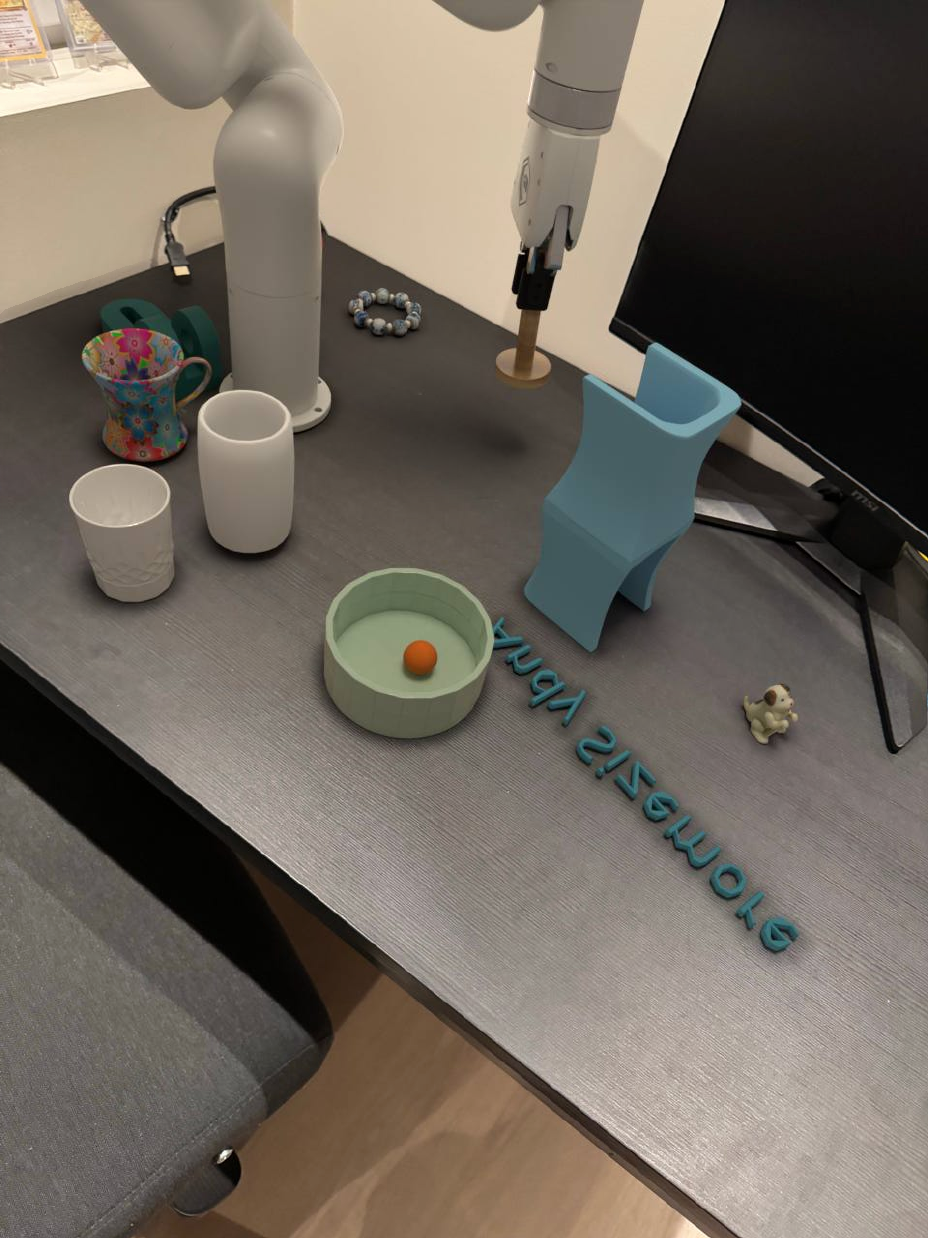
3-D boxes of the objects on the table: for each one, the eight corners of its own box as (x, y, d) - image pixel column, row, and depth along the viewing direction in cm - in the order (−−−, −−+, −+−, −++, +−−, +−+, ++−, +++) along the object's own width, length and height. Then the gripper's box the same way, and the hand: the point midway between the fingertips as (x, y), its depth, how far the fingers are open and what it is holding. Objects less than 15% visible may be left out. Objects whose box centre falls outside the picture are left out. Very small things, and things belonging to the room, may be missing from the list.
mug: (111, 477, 86) (93, 388, 78) (91, 422, 90) (72, 333, 82) (228, 456, 90) (222, 370, 82) (203, 405, 95) (196, 320, 87)
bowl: (322, 610, 79) (324, 565, 74) (471, 612, 81) (481, 569, 77) (324, 740, 70) (327, 698, 65) (491, 737, 72) (505, 697, 68)
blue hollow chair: (578, 550, 90) (655, 340, 71) (650, 606, 86) (751, 400, 67) (516, 591, 84) (581, 375, 65) (590, 653, 80) (682, 443, 62)
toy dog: (762, 748, 76) (787, 718, 73) (731, 706, 79) (753, 675, 75) (791, 738, 78) (817, 707, 74) (760, 697, 80) (783, 665, 76)
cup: (311, 539, 84) (314, 423, 74) (242, 577, 80) (235, 459, 69) (257, 493, 87) (253, 375, 77) (188, 527, 83) (173, 407, 72)
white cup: (197, 563, 80) (188, 482, 72) (150, 619, 75) (135, 539, 67) (123, 535, 81) (106, 452, 73) (71, 589, 76) (48, 506, 68)
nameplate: (508, 616, 82) (467, 636, 79) (509, 611, 81) (469, 631, 79) (804, 929, 65) (766, 967, 63) (809, 926, 65) (770, 964, 62)
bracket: (223, 385, 98) (219, 323, 92) (170, 402, 95) (162, 339, 89) (145, 310, 106) (136, 249, 100) (93, 323, 102) (81, 261, 96)
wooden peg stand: (489, 358, 93) (503, 232, 82) (542, 356, 94) (562, 231, 83) (500, 390, 89) (516, 262, 79) (555, 388, 90) (578, 261, 80)
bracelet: (368, 291, 117) (369, 278, 116) (432, 314, 116) (434, 300, 114) (336, 322, 111) (337, 308, 109) (404, 347, 109) (406, 333, 108)
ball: (424, 628, 74) (406, 648, 76) (410, 642, 72) (391, 663, 73) (449, 651, 74) (430, 671, 76) (435, 666, 72) (416, 686, 74)
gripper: (515, 62, 76) (481, 259, 90) (547, 132, 66) (504, 342, 80) (594, 72, 77) (549, 265, 91) (638, 142, 67) (580, 347, 81)
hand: (528, 299), depth 85 cm, fingers closed on wooden peg stand
